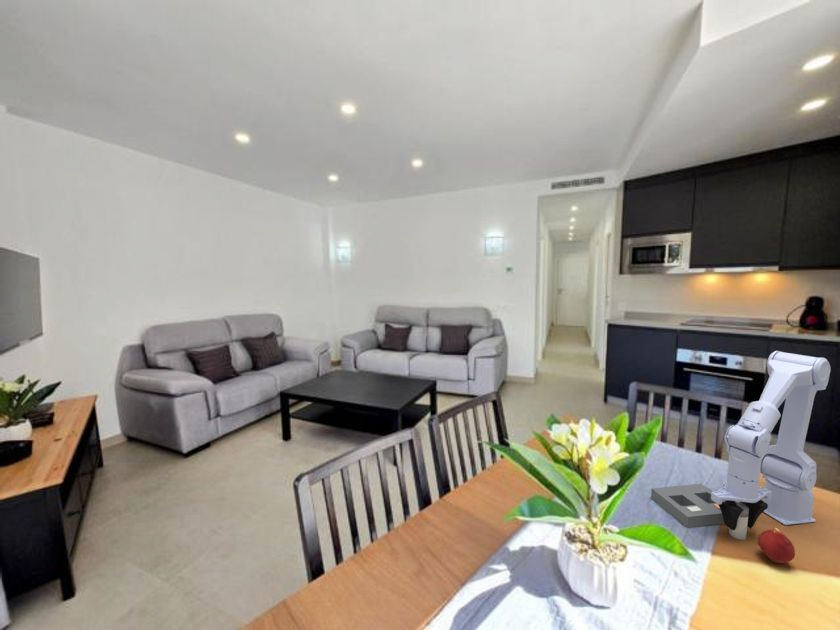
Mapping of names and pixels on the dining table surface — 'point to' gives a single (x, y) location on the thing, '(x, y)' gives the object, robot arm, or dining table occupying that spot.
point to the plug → (741, 523)
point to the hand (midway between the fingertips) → (738, 526)
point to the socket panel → (689, 504)
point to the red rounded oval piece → (776, 546)
